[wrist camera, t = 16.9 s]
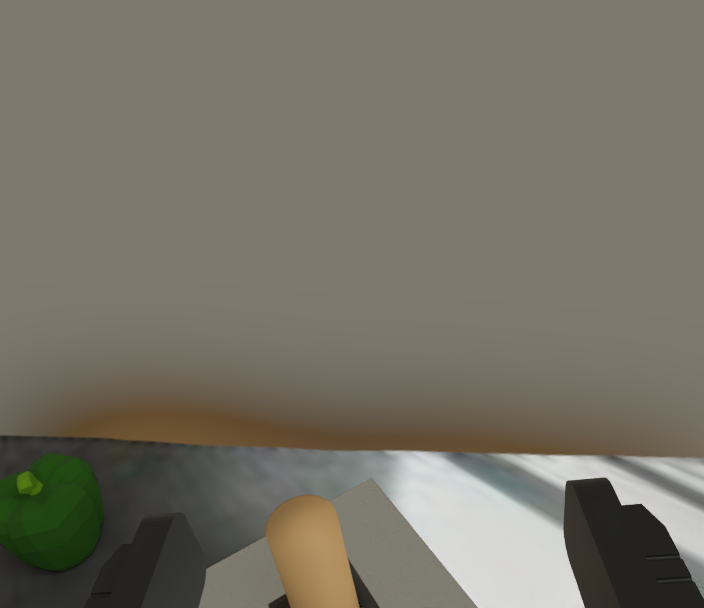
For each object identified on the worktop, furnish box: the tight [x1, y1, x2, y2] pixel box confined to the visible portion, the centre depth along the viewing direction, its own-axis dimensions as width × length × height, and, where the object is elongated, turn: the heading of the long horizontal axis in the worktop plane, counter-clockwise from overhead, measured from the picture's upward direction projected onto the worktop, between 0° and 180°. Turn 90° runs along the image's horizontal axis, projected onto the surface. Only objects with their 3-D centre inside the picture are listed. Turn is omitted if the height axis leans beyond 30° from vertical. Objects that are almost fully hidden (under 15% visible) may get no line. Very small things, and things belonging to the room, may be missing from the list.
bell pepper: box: [0, 453, 104, 571], centre depth 47 cm, size 8×8×10 cm
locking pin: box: [266, 495, 360, 608], centre depth 34 cm, size 4×4×14 cm
